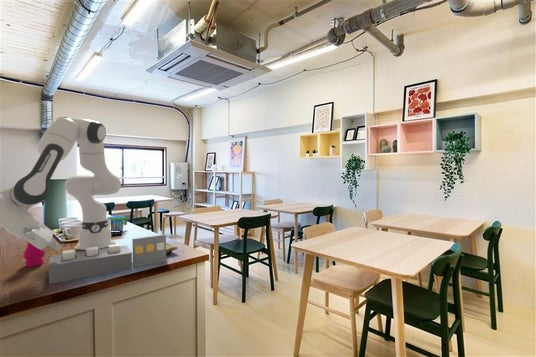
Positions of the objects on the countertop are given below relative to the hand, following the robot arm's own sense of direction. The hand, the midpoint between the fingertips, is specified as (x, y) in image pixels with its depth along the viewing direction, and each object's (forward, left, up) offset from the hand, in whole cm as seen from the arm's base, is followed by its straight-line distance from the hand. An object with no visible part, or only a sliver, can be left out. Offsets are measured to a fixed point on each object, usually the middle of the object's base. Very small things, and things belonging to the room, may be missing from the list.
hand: (59, 248), depth 111 cm
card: (+3, +33, -11) cm, 35 cm away
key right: (0, +19, -6) cm, 20 cm away
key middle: (0, +11, -6) cm, 13 cm away
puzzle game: (-12, +39, -12) cm, 43 cm away
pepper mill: (-23, -10, -11) cm, 28 cm away
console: (0, +11, -11) cm, 16 cm away
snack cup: (-74, +28, -12) cm, 79 cm away
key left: (0, +3, -6) cm, 7 cm away
